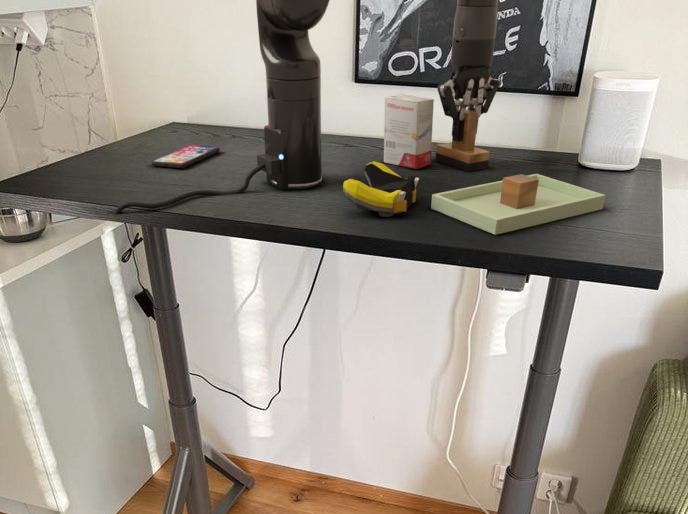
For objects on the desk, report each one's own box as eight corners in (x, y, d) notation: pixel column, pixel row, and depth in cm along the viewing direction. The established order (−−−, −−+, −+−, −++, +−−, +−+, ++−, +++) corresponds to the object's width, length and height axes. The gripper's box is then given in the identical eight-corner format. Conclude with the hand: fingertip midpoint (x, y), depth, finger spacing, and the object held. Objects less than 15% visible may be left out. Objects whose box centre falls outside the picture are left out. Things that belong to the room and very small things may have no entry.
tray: (495, 235, 110) (497, 219, 109) (430, 208, 121) (431, 194, 119) (602, 209, 120) (605, 194, 118) (534, 186, 130) (536, 173, 129)
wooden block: (516, 209, 118) (520, 183, 115) (499, 202, 120) (503, 177, 118) (534, 205, 119) (539, 179, 117) (517, 199, 122) (521, 174, 119)
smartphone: (149, 161, 142) (189, 144, 153) (150, 166, 143) (190, 149, 154) (182, 164, 140) (220, 146, 151) (183, 169, 140) (221, 151, 151)
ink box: (431, 165, 142) (436, 98, 135) (414, 170, 139) (419, 102, 132) (398, 157, 147) (401, 92, 140) (381, 162, 145) (383, 96, 137)
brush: (468, 171, 139) (474, 117, 133) (435, 160, 145) (439, 108, 140) (487, 168, 141) (494, 114, 135) (454, 157, 148) (459, 105, 142)
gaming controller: (338, 216, 117) (398, 223, 114) (338, 181, 114) (400, 187, 111) (367, 191, 128) (422, 197, 126) (368, 158, 125) (425, 163, 122)
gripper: (489, 30, 135) (478, 131, 146) (430, 35, 130) (423, 140, 140) (517, 34, 130) (503, 139, 141) (457, 40, 124) (447, 148, 135)
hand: (463, 139), depth 140 cm, fingers closed on brush, 2 cm apart
